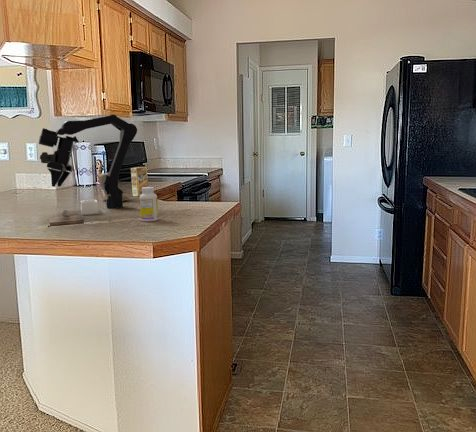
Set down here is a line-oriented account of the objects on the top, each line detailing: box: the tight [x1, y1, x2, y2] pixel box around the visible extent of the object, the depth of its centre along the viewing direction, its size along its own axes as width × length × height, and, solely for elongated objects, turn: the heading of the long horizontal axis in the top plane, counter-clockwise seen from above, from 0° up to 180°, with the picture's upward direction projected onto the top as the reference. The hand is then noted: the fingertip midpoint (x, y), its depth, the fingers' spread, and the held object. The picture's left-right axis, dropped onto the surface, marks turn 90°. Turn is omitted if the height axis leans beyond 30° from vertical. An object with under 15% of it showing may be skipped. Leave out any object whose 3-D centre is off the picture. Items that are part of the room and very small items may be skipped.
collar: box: [79, 199, 99, 216], centre depth 200 cm, size 6×6×5 cm
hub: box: [48, 209, 85, 227], centre depth 184 cm, size 12×12×5 cm
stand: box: [76, 209, 104, 217], centre depth 200 cm, size 10×10×4 cm
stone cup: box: [97, 172, 129, 202], centre depth 241 cm, size 15×12×15 cm
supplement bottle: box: [139, 186, 159, 223], centre depth 185 cm, size 7×7×13 cm
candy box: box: [130, 166, 149, 197], centre depth 262 cm, size 9×4×15 cm, turn 150°
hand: (56, 186), depth 202 cm, fingers open, 9 cm apart
